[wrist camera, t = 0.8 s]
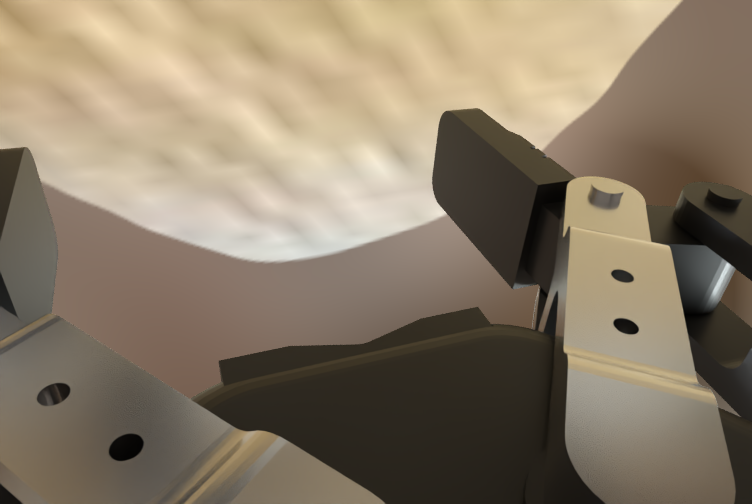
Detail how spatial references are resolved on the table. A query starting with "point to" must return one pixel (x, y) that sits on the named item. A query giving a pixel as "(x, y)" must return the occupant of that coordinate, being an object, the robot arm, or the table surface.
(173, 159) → the table surface
